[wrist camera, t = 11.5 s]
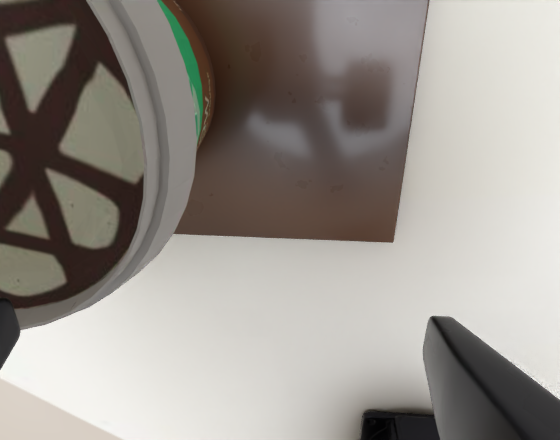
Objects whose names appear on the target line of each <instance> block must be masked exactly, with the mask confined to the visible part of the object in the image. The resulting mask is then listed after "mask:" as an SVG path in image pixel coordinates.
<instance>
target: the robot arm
mask: <svg viewBox="0 0 560 440" xmlns="http://www.w3.org/2000/svg"><path fill="white" fill-rule="evenodd" d="M19 336H20V325H19V322H18V319H17V316H16V313H15V310H14V307H13V304H12V302H11V301H10V300H9V299H8V298H5V297H0V370H1V368H2V366H3V364H4V363H5V361H6V359H7V358H8V356H9V354H10V352H11V351H12V349H13V347H14V346H15V344H16V342H17V340H18V338H19ZM423 360H424V365H425V370H426V375H427V380H428V385H429V390H430V395H431V400H432V405H433V410H434V415H420V414H404V413H388V412H372V411H370V412H366V413H364V414H363V416H362V423H361V430H360V438H359V440H560V400H559V399H558V398H557V397H555V396H554V395H553V394H551V393H550V392H549V391H547V390H546V389H545V388H543V387H542V386H541V385H540V384H538V383H537V382H536V381H534V380H533V379H532V378H530V377H529V376H528V375H526V374H525V373H524V372H523V371H521V370H520V369H519V368H517V367H516V366H515V365H513V364H512V363H511V362H509V361H508V360H507V359H506V358H504V357H503V356H502V355H500V354H499V353H498V352H496V351H495V350H494V349H493V348H491V347H490V346H489V345H487V344H486V343H485V342H483V341H482V340H481V339H479V338H478V337H477V336H476V335H474V334H473V333H472V332H470V331H469V330H468V329H466V328H465V327H464V326H462V325H461V324H460V323H459V322H457V321H456V320H455V319H453V318H452V317H446V316H432V317H430V318H429V320H428V324H427V329H426V334H425V340H424V345H423Z"/></svg>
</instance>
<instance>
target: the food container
mask: <svg viewBox="0 0 560 440" xmlns="http://www.w3.org/2000/svg"><path fill="white" fill-rule="evenodd" d="M215 96H216V92H215V77H214V72H213V68H212V63H211V59H210V56H209V53H208V51H207V48H206V45H205V42H204V40H203V38H202V37H201V35H200V33H199V31H198V29H197V27H196V25H195V24H194V22H193V21H192V20H191V18H190V17H189V15H188V14H187V13H186V11H185V10H184V9H183V7H182V6H181V5H180V4H179V3H178V2H177V1H176V0H0V297H5V298H8V299H9V300H10V301H11V302H12V304H13V307H14V310H15V313H16V316H17V319H18V322H19V325H20V330H23V329H28V328H32V327H37V326H41V325H46V324H48V323H51V322H53V321H56V320H58V319H61V318H63V317H66V316H68V315H71V314H73V313H75V312H78V311H80V310H83V309H85V308H88V307H90V306H92V305H93V304H95V303H96V302H98V301H100V300H101V299H103V298H104V297H106V296H108V295H109V294H111V293H112V292H114V291H115V290H116V289H118V288H119V287H120V286H121V285H123V284H124V283H125V282H127V281H128V280H129V279H131V278H132V277H133V276H135V275H136V274H137V273H139V272H140V271H141V270H142V269H143V268H144V267H145V266H146V265H147V264H148V263H149V262H150V261H152V260H153V259H154V258H155V257H156V256H157V255H158V254H159V253H160V251H161V250H162V248H163V247H164V246H165V244H166V243H167V241H168V240H169V239H170V237H171V236H172V235H173V233H174V232H175V229H176V227H177V225H178V223H179V221H180V219H181V217H182V215H183V212H184V210H185V208H186V206H187V202H188V198H189V194H190V190H191V187H192V183H193V179H194V173H195V161H196V152H197V150H198V149H199V147H200V145H201V143H202V141H203V139H204V137H205V135H206V133H207V131H208V129H209V127H210V124H211V121H212V117H213V113H214V106H215Z"/></svg>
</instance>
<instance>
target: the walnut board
mask: <svg viewBox="0 0 560 440" xmlns="http://www.w3.org/2000/svg"><path fill="white" fill-rule="evenodd" d="M176 1H177V2H178V3H179V4H180V5H181V6H182V7H183V9H184V10H185V11H186V13H187V14H188V15H189V17H190V18H191V20H192V21H193V22H194V24H195V25H196V27H197V29H198V31H199V33H200V35H201V37H202V38H203V40H204V42H205V45H206V48H207V51H208V53H209V56H210V59H211V63H212V68H213V72H214V77H215V92H216V96H215V106H214V113H213V117H212V121H211V124H210V127H209V129H208V131H207V133H206V135H205V137H204V139H203V141H202V143H201V145H200V147H199V149H198V150H197V152H196V161H195V173H194V179H193V183H192V187H191V190H190V194H189V198H188V202H187V206H186V208H185V210H184V212H183V215H182V217H181V219H180V221H179V223H178V225H177V227H176V229H175V232H174V233H173V234H189V235H215V236H240V237H265V238H291V239H316V240H341V241H367V242H393V241H394V235H395V228H396V222H397V215H398V208H399V201H400V195H401V188H402V181H403V174H404V168H405V161H406V154H407V148H408V141H409V134H410V127H411V121H412V114H413V107H414V100H415V94H416V87H417V80H418V73H419V67H420V60H421V53H422V46H423V40H424V33H425V26H426V19H427V13H428V6H429V0H176Z"/></svg>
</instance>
